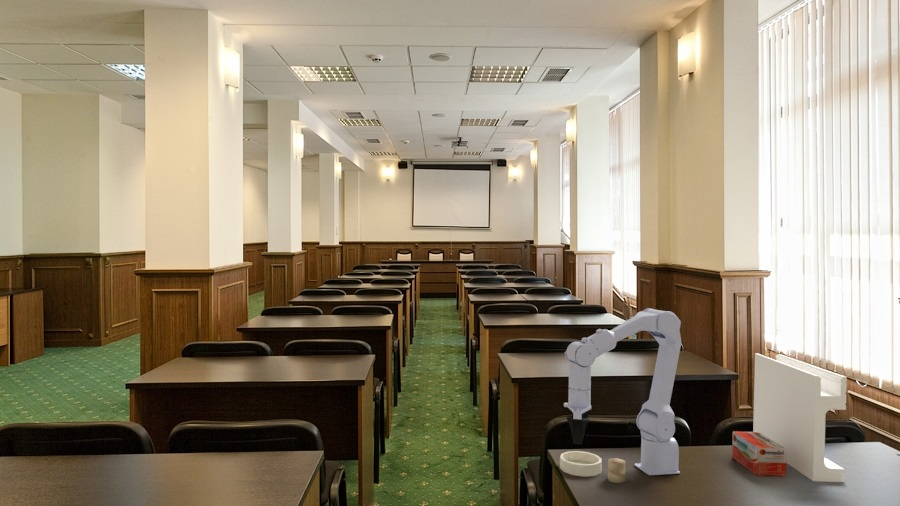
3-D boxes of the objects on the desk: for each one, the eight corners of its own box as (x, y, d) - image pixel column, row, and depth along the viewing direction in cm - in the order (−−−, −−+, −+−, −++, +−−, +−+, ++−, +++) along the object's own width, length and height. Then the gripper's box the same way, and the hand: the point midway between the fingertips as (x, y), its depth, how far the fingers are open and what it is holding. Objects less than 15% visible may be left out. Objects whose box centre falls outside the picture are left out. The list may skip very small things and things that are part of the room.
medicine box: (786, 477, 162) (787, 448, 162) (756, 477, 162) (757, 447, 162) (757, 458, 177) (758, 431, 177) (730, 457, 177) (731, 430, 177)
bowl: (590, 460, 171) (590, 450, 171) (608, 475, 160) (608, 463, 160) (554, 462, 169) (554, 452, 169) (569, 477, 158) (570, 466, 158)
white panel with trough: (752, 439, 194) (755, 353, 194) (778, 440, 194) (780, 354, 194) (813, 481, 159) (815, 376, 159) (844, 482, 159) (846, 376, 159)
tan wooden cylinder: (620, 476, 160) (620, 457, 160) (628, 482, 155) (628, 463, 155) (604, 477, 159) (605, 458, 159) (612, 483, 154) (613, 464, 154)
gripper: (566, 381, 166) (566, 430, 166) (561, 393, 152) (560, 446, 153) (592, 383, 164) (592, 432, 164) (590, 395, 150) (589, 449, 151)
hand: (578, 439), depth 158 cm, fingers open, 7 cm apart
